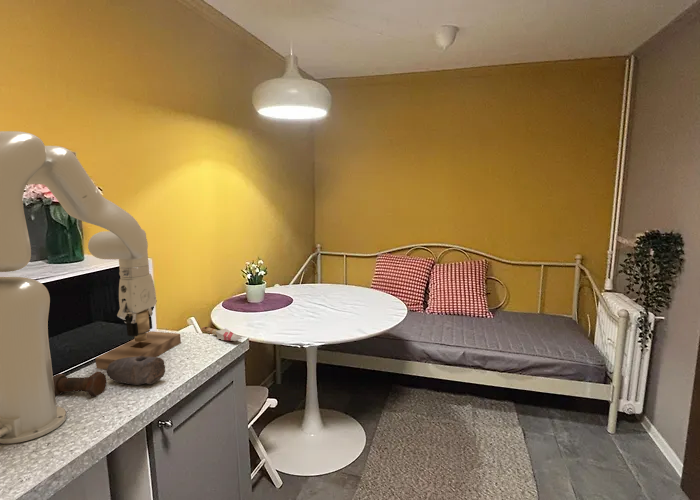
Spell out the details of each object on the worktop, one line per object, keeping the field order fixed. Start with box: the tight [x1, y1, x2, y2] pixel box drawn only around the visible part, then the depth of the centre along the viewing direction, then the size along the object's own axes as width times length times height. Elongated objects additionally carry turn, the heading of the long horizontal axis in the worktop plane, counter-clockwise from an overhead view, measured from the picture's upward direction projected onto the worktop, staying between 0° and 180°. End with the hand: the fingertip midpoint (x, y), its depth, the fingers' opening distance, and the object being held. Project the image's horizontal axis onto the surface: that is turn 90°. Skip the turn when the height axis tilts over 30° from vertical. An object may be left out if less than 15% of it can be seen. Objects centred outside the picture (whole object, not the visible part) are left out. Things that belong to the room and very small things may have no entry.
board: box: [95, 330, 182, 371], centre depth 126 cm, size 22×11×3 cm, turn 167°
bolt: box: [53, 371, 107, 398], centre depth 103 cm, size 6×5×15 cm
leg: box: [129, 310, 151, 342], centre depth 125 cm, size 5×5×8 cm
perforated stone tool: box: [106, 356, 166, 386], centre depth 108 cm, size 15×5×7 cm, turn 81°
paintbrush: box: [201, 325, 243, 342], centre depth 140 cm, size 4×3×20 cm
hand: (140, 331), depth 125 cm, fingers closed on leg, 5 cm apart
